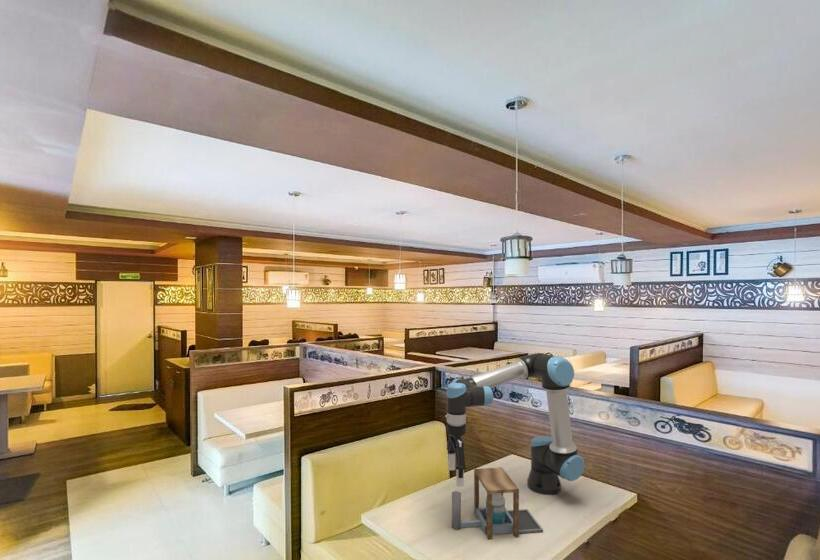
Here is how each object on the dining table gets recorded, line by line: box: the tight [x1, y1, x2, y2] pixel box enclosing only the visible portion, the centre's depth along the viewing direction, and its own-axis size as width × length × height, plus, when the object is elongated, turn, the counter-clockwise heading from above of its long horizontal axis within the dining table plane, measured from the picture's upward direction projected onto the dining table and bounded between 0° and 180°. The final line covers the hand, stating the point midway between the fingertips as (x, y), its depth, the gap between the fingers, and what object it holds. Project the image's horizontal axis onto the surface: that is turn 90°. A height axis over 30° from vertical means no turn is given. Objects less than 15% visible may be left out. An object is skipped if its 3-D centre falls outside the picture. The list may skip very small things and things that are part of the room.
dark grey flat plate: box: [507, 508, 544, 535], centre depth 168 cm, size 10×15×1 cm, turn 7°
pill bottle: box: [485, 493, 506, 525], centre depth 167 cm, size 8×7×14 cm
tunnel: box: [473, 467, 520, 540], centre depth 167 cm, size 12×19×18 cm, turn 7°
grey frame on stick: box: [451, 490, 513, 536], centre depth 166 cm, size 24×13×13 cm, turn 97°
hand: (455, 477), depth 165 cm, fingers open, 13 cm apart
